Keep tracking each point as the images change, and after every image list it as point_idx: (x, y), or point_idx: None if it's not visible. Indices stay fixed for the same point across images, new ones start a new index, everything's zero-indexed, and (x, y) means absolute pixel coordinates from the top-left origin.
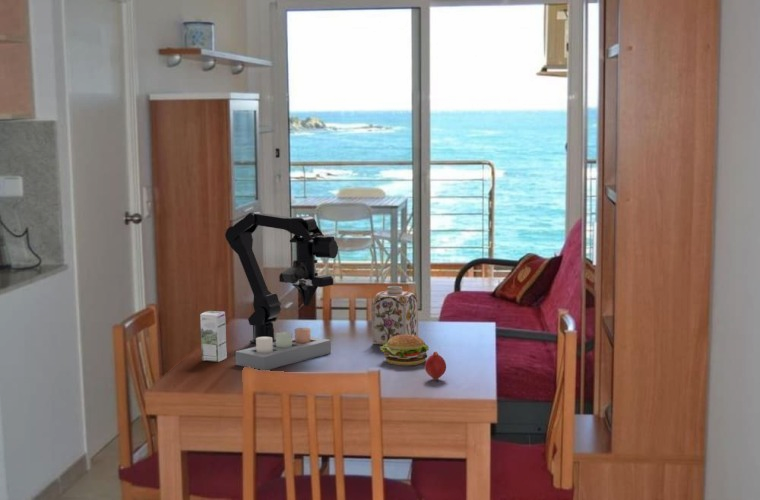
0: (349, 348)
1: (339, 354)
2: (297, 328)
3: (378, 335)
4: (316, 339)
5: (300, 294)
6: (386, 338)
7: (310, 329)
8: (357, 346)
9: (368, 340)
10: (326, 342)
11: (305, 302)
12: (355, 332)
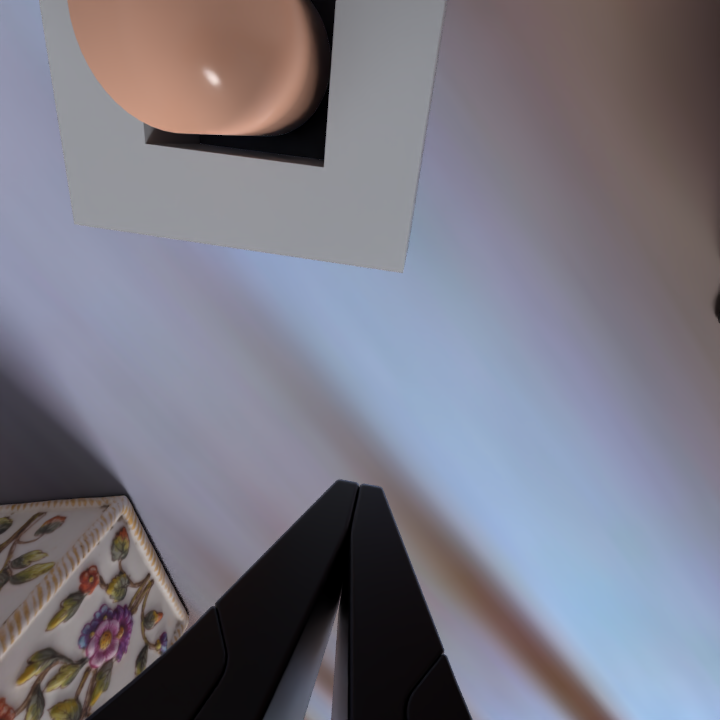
0: (147, 370)
1: (67, 204)
2: (256, 14)
3: (65, 531)
4: (181, 183)
5: (455, 693)
6: (37, 525)
7: (106, 88)
8: (151, 427)
9: (207, 548)
10: (73, 168)
11: (334, 518)
12: None
